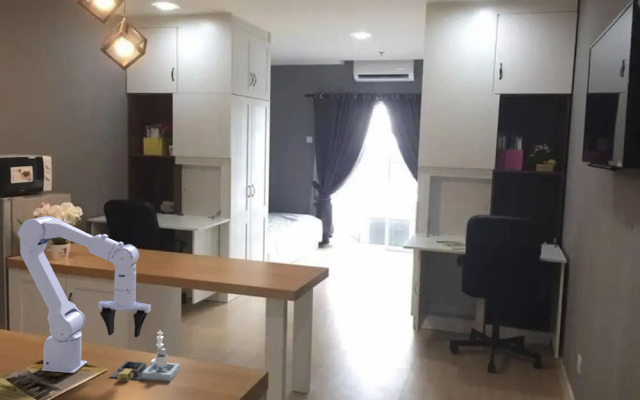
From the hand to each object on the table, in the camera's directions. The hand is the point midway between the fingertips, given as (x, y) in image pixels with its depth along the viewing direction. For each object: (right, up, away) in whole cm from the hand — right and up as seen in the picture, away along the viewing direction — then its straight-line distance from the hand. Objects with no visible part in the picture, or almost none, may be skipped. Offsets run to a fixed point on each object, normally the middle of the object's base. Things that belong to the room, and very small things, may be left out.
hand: (124, 335), depth 156 cm
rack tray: (+11, -11, -1) cm, 16 cm away
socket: (+2, -11, 0) cm, 11 cm away
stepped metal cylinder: (+11, -11, -1) cm, 15 cm away
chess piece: (+8, -10, +7) cm, 15 cm away
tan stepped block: (+2, -11, -4) cm, 12 cm away
